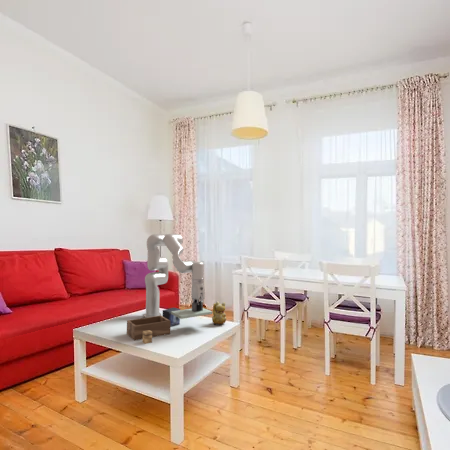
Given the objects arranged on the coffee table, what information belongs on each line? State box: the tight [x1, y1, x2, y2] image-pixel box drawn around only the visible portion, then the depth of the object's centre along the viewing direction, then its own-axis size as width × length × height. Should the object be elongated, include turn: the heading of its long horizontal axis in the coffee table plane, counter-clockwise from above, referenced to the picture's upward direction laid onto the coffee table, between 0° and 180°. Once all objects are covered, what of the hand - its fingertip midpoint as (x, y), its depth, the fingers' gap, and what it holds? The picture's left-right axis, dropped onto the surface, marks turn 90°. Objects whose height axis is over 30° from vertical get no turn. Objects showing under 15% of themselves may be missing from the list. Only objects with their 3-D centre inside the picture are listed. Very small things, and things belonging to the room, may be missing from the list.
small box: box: [161, 307, 181, 328], centre depth 212 cm, size 11×6×10 cm, turn 143°
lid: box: [171, 302, 213, 320], centre depth 204 cm, size 14×22×6 cm, turn 125°
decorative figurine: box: [211, 300, 227, 326], centre depth 216 cm, size 10×8×15 cm
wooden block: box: [141, 330, 153, 345], centre depth 180 cm, size 4×4×6 cm
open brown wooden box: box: [126, 315, 171, 341], centre depth 194 cm, size 14×22×8 cm, turn 125°
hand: (197, 309), depth 206 cm, fingers closed on lid, 3 cm apart
